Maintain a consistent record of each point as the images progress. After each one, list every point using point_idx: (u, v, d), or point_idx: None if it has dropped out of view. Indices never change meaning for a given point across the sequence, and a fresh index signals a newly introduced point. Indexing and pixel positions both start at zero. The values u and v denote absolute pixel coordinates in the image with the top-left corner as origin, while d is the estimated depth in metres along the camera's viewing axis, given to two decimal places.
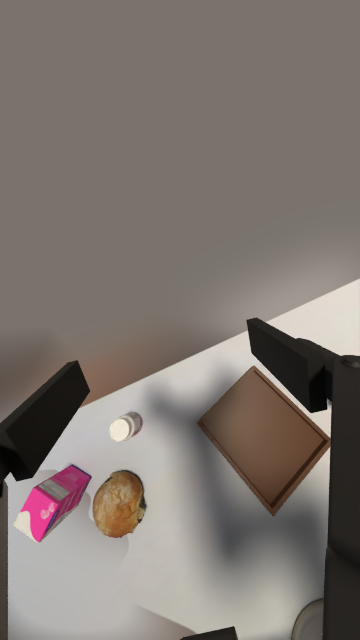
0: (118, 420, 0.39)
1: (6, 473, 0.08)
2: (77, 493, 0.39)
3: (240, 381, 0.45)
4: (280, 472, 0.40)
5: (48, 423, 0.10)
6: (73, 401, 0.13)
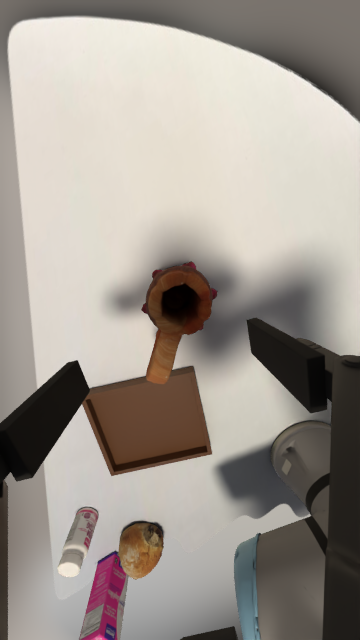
0: (58, 568, 0.35)
1: (6, 473, 0.08)
2: (114, 581, 0.43)
3: (90, 420, 0.35)
4: (190, 424, 0.38)
5: (48, 423, 0.10)
6: (73, 401, 0.13)
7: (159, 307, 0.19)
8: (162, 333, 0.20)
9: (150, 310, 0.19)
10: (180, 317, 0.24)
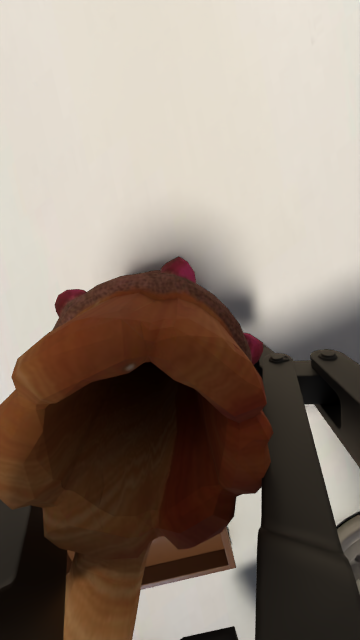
0: None
1: None
2: None
3: None
4: None
5: None
6: None
7: (40, 472, 0.04)
8: None
9: None
10: (163, 398, 0.10)
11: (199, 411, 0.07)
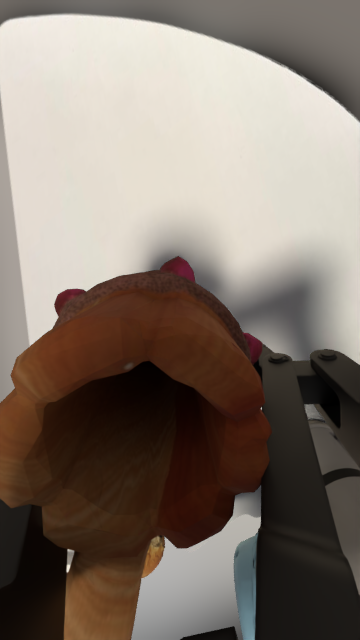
0: None
1: None
2: None
3: None
4: None
5: None
6: None
7: (39, 471, 0.04)
8: None
9: None
10: (162, 397, 0.10)
11: (198, 410, 0.07)
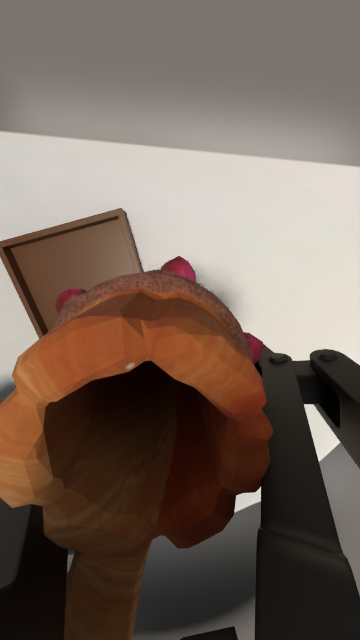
0: None
1: None
2: None
3: (87, 220, 0.27)
4: None
5: None
6: None
7: (40, 470, 0.04)
8: None
9: (0, 487, 0.04)
10: (163, 397, 0.10)
11: (199, 410, 0.07)
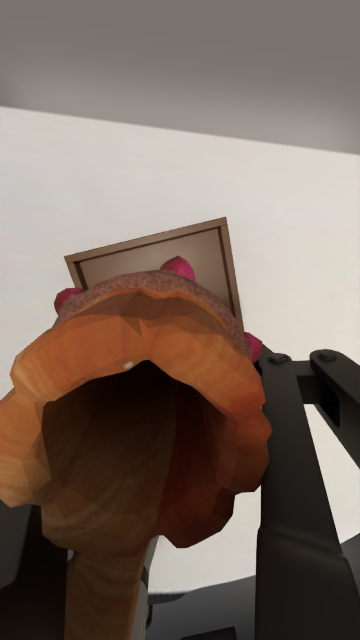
0: None
1: None
2: None
3: (182, 230, 0.21)
4: None
5: None
6: None
7: (38, 470, 0.04)
8: None
9: None
10: (162, 397, 0.10)
11: (198, 410, 0.07)
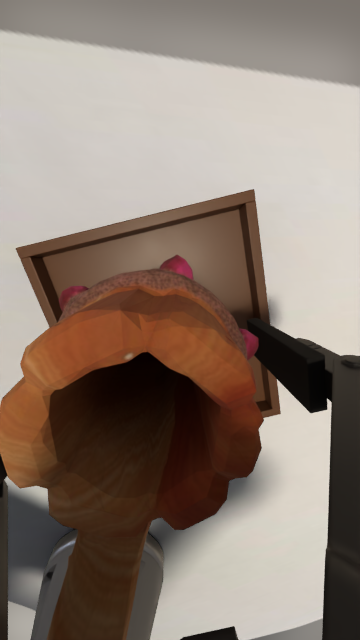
0: None
1: (6, 473, 0.08)
2: None
3: (189, 210, 0.15)
4: None
5: None
6: None
7: (46, 454, 0.04)
8: None
9: (9, 468, 0.04)
10: (162, 392, 0.10)
11: (196, 403, 0.08)
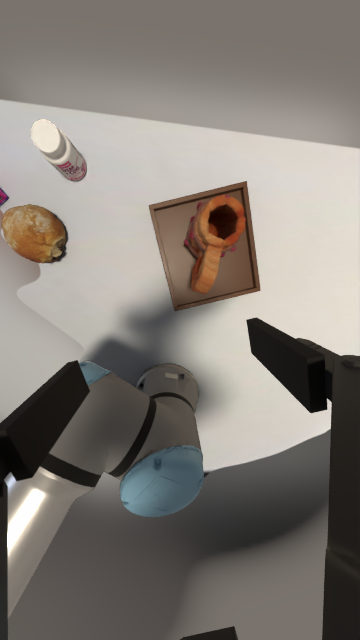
0: (47, 121, 0.27)
1: (6, 473, 0.08)
2: None
3: (220, 189, 0.36)
4: None
5: (48, 423, 0.10)
6: (73, 401, 0.13)
7: (207, 223, 0.26)
8: (208, 246, 0.27)
9: (201, 226, 0.26)
10: None
11: (229, 235, 0.29)
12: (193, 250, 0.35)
